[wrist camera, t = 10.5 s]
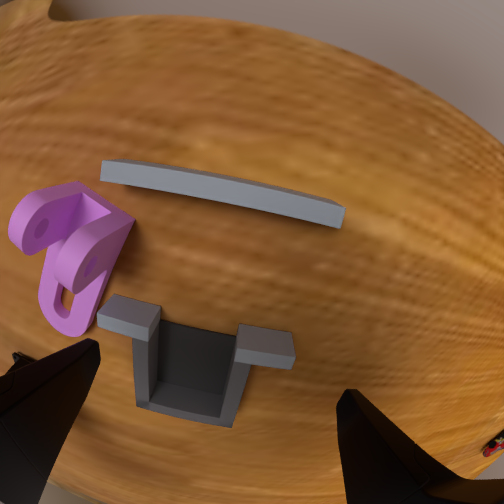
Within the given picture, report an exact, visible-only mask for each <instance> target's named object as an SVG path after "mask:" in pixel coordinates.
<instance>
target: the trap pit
mask: <svg viewBox="0 0 504 504" xmlns="http://www.w3.org/2000/svg"><path fill="white" fill-rule="evenodd" d="M132 344H133V368H134V383H135V396H136V406H137V407H140V408H144V409H147V410H151V411H154V412H158V413H162V414H166V415H169V416H174V417H178V418H182V419H186V420H191V421H196V422H201V423H206V424H211V425H217V426H223V427H229V428H232V425H233V422H234V419H235V416H236V413H237V410H238V406H239V403H240V400H241V397H242V394H243V390H244V387H245V384H246V381H247V377H248V374H249V371H250V367H251V364H247V363H241V362H235V361H234V356H235V345H236V336H233V335H227V334H222V333H217V332H213V331H208V330H203V329H199V328H194V327H190V326H185V325H181V324H177V323H173V322H168V321H164V320H160V321H159V322H158V324H157V326H156V328H155V330H154V332H153V334H152V336H151V338H150V339H149V341H148V342H147V341H143V340H140V339H136V338H133V337H132Z"/></svg>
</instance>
